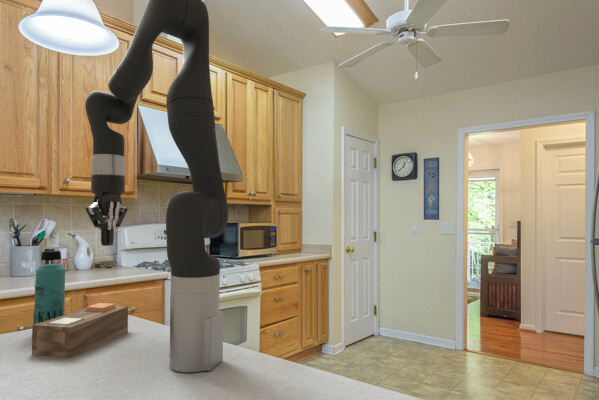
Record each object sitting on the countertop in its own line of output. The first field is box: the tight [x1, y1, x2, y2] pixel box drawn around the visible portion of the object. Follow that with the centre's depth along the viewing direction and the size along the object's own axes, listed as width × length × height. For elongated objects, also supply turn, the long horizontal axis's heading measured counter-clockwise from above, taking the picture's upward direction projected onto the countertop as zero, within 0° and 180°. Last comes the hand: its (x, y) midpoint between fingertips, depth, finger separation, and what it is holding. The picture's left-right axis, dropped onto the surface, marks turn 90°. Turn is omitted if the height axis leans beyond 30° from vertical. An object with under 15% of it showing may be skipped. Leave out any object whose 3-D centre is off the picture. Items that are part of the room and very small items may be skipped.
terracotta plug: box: [86, 302, 116, 313], centre depth 98 cm, size 4×4×5 cm
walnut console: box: [31, 305, 129, 359], centre depth 92 cm, size 9×19×6 cm, turn 169°
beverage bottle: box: [32, 249, 66, 325], centre depth 98 cm, size 6×7×20 cm
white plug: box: [49, 318, 83, 325], centre depth 87 cm, size 4×4×5 cm
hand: (107, 245), depth 99 cm, fingers closed
